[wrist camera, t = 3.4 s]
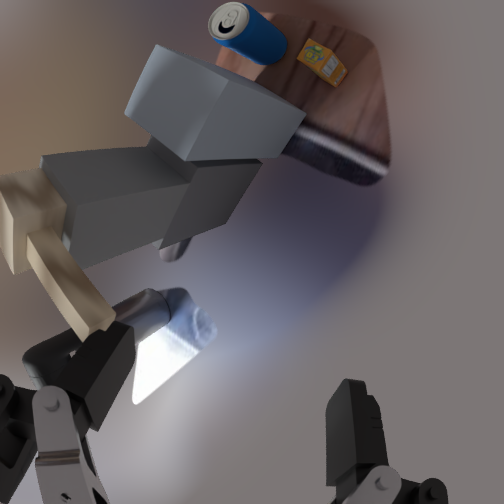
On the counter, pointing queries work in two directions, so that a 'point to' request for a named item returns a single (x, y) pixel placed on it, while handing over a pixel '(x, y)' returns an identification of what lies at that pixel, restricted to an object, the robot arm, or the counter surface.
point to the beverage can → (247, 33)
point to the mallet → (47, 249)
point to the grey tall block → (209, 110)
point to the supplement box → (322, 62)
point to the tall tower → (141, 197)
